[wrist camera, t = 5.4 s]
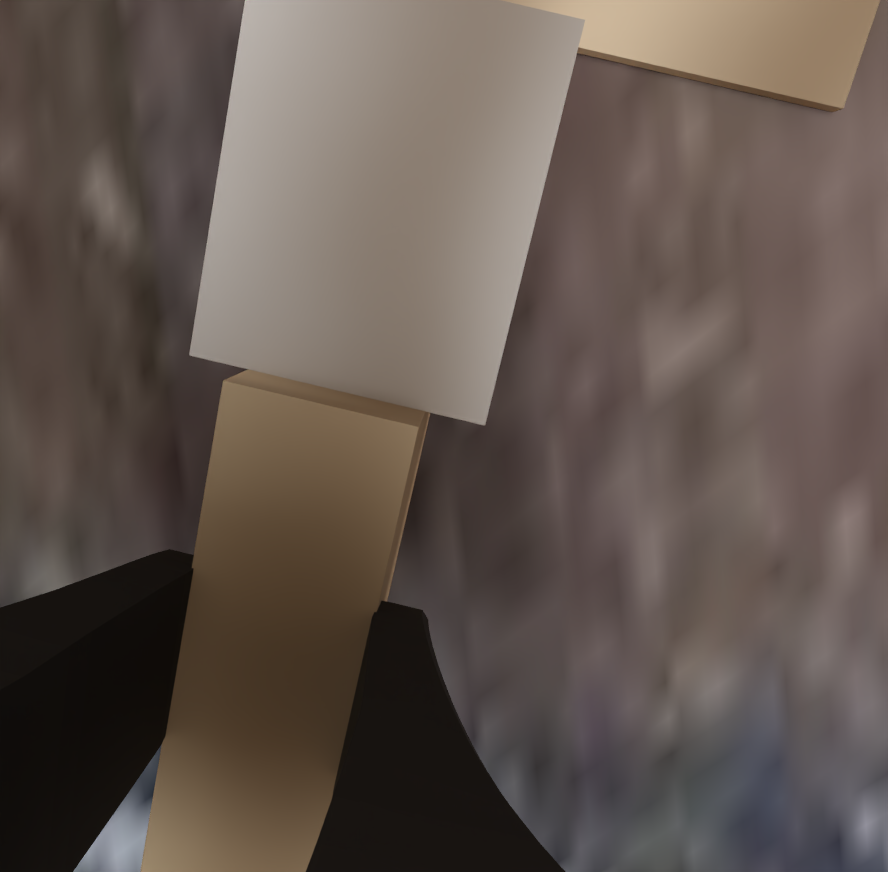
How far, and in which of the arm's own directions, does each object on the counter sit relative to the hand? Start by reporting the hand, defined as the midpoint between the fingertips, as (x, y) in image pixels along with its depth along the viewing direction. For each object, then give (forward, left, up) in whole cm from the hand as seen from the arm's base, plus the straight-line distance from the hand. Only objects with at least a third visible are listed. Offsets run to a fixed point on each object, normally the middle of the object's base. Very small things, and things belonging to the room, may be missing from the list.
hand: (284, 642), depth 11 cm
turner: (0, +1, -2) cm, 3 cm away
